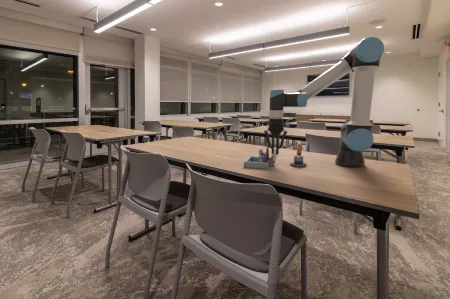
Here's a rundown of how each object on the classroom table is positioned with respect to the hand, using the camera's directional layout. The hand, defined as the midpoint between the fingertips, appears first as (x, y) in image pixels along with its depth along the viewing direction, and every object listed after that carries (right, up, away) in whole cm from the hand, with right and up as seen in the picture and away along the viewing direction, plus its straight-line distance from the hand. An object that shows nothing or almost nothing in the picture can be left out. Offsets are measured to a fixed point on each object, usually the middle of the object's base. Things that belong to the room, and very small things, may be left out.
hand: (274, 160), depth 143 cm
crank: (+15, -1, +5) cm, 16 cm away
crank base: (+14, -3, +1) cm, 14 cm away
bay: (-9, -3, +3) cm, 10 cm away
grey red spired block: (-5, -3, +3) cm, 6 cm away
